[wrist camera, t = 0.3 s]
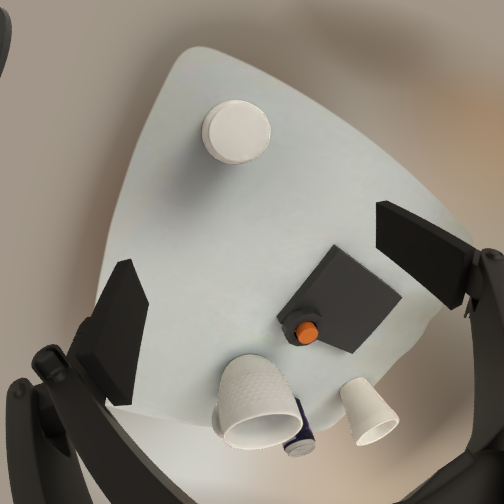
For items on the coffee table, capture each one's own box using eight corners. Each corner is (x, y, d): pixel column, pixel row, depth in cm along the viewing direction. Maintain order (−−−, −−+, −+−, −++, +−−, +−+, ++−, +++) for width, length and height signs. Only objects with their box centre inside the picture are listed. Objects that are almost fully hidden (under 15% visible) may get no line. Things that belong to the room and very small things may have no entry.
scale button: (291, 333, 38) (294, 340, 36) (304, 318, 37) (307, 325, 35) (305, 339, 39) (309, 346, 37) (318, 325, 38) (322, 332, 37)
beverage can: (277, 412, 51) (292, 460, 40) (266, 402, 49) (281, 453, 38) (302, 401, 51) (321, 448, 40) (292, 390, 48) (311, 441, 38)
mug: (234, 404, 47) (246, 463, 36) (186, 384, 43) (189, 450, 31) (293, 359, 45) (319, 421, 33) (245, 332, 40) (264, 404, 28)
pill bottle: (196, 111, 27) (195, 102, 18) (249, 102, 27) (272, 90, 18) (206, 161, 29) (209, 176, 20) (257, 151, 30) (283, 162, 21)
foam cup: (325, 401, 53) (347, 449, 41) (345, 373, 50) (373, 423, 38) (358, 398, 55) (381, 440, 44) (379, 371, 52) (407, 414, 41)
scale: (270, 322, 40) (276, 338, 37) (333, 244, 37) (345, 255, 33) (343, 352, 46) (351, 366, 43) (397, 292, 43) (408, 303, 40)
